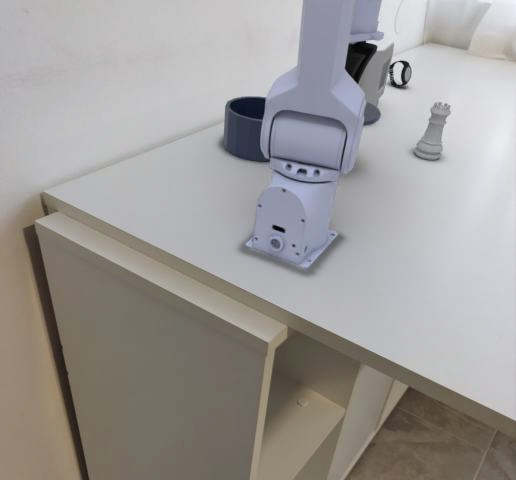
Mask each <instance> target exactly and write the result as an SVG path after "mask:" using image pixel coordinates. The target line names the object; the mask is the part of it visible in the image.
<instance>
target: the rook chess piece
mask: <svg viewBox="0 0 516 480" xmlns="http://www.w3.org/2000/svg"><path fill="white" fill-rule="evenodd" d="M451 107H452V106H451V104H449V103H447V102H444V103H443V101H436V102H434V104H433V105H432V106H431V107H430V109H429V111H430V114H431V115H430V117H429V118H428V124H427V127H426V129H425V131H424V134H423V135H422V136H421V137H420V139H419V140H418V141H417V142H416V144H415V146H416V147H414V150H413V151H414V154H415V156H417V157H418V158H420V159H423V160H426V161H427V160H428V161H436V160H438V159H439V158H441V157H442V153H441V152H443V150H444V145H442V144H443V141H442V137H443V132H444V131H443V130H444V127H445V125H446V124H447V118H448V117H449V116H450V115H451V114H452V111H451Z"/></svg>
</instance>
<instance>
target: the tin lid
mask: <svg viewBox="0 0 516 480" xmlns="http://www.w3.org/2000/svg"><path fill="white" fill-rule="evenodd" d="M353 79H354V77H353ZM381 114H382V113H381V110H380V109H379V107H376V106H374V105H372V104H371V103H369V102H366V106H365V111H364V124H363V127H364V126H370V125H373V124H375V123H377V122H378V121H379V120H380V118H381Z"/></svg>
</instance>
